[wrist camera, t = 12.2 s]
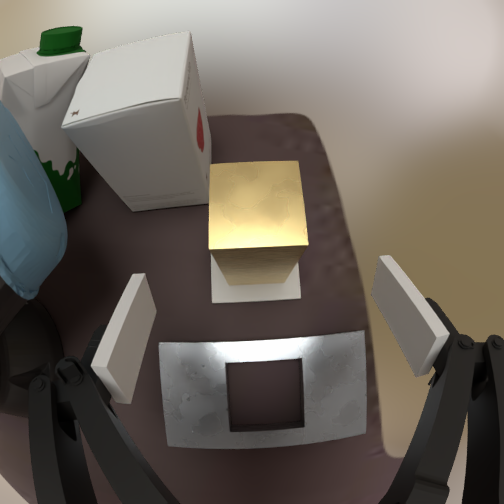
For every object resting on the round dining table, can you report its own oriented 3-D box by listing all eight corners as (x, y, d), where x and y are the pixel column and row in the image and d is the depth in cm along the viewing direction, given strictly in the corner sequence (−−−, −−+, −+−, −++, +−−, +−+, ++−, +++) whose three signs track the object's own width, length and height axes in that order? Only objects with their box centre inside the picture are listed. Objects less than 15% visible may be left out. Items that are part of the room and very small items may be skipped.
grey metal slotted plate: (173, 438, 23) (167, 445, 21) (165, 341, 25) (158, 342, 23) (358, 427, 23) (365, 433, 21) (356, 330, 25) (364, 330, 23)
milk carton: (91, 205, 29) (103, 32, 15) (26, 240, 23) (-3, 55, 9) (64, 168, 31) (71, 22, 17) (7, 196, 25) (-10, 41, 11)
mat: (213, 303, 26) (212, 302, 26) (211, 221, 28) (210, 219, 28) (299, 298, 26) (300, 298, 26) (292, 217, 28) (293, 215, 28)
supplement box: (213, 205, 29) (182, 99, 14) (131, 213, 29) (55, 130, 14) (213, 135, 31) (193, 27, 17) (140, 145, 31) (91, 52, 17)
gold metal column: (228, 285, 26) (208, 249, 14) (227, 233, 27) (209, 164, 16) (284, 282, 26) (308, 244, 14) (280, 230, 27) (298, 160, 16)
